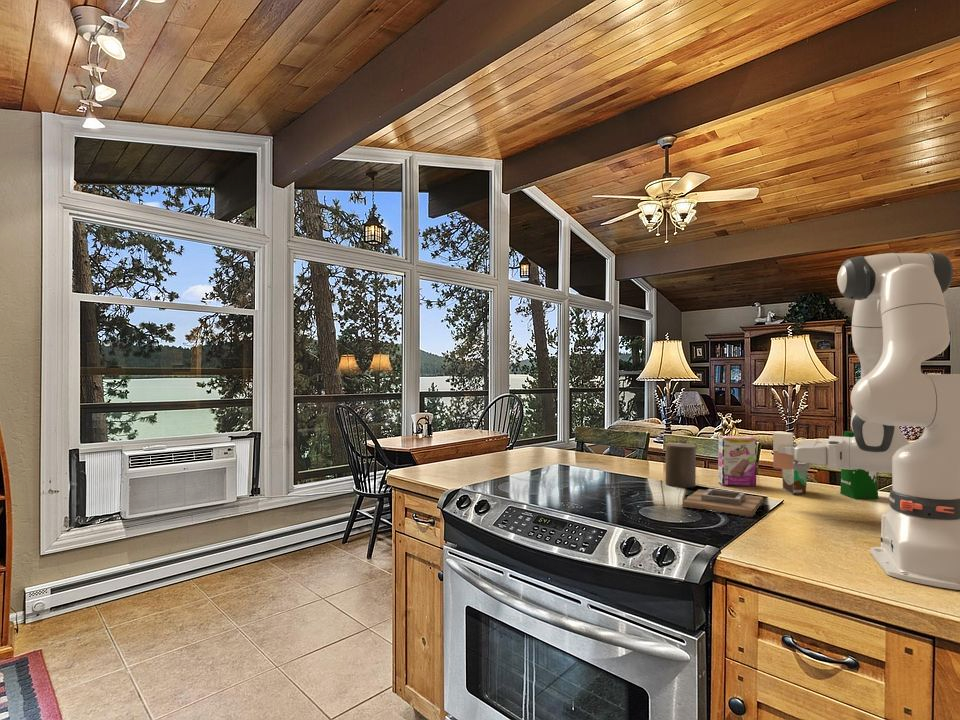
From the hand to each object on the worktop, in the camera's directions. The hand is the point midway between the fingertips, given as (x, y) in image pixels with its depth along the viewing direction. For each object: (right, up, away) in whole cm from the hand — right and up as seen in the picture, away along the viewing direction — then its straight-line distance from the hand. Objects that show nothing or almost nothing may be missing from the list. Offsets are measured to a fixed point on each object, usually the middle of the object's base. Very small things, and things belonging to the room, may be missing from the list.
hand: (779, 448), depth 156 cm
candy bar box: (+1, -17, +28) cm, 33 cm away
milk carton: (+31, -17, +11) cm, 37 cm away
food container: (+16, -17, +17) cm, 29 cm away
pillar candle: (-18, -17, +29) cm, 38 cm away
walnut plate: (-16, -17, +1) cm, 23 cm away
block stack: (+1, -5, -1) cm, 6 cm away
